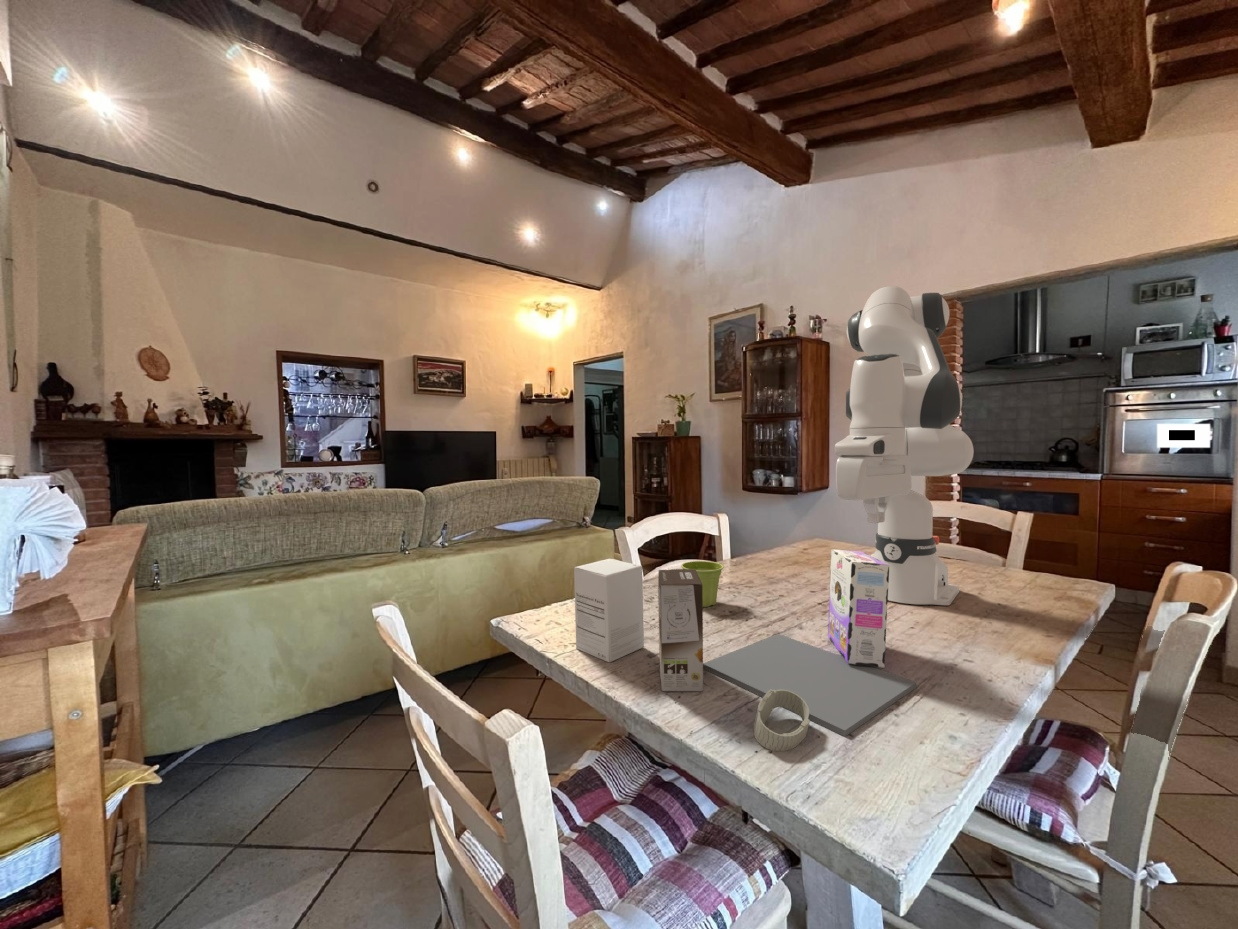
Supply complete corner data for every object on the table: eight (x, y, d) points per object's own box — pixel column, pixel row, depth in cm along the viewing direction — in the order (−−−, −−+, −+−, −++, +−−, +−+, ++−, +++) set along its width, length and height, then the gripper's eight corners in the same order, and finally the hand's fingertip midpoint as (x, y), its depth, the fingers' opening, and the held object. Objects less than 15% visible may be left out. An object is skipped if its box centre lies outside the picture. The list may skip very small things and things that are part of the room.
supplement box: (610, 634, 96) (609, 557, 96) (645, 647, 90) (644, 565, 89) (574, 648, 90) (572, 566, 89) (608, 664, 84) (607, 575, 83)
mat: (777, 638, 93) (777, 633, 93) (916, 687, 74) (916, 682, 74) (702, 668, 81) (702, 663, 81) (844, 736, 62) (844, 730, 62)
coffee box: (704, 692, 74) (704, 584, 73) (661, 692, 74) (659, 584, 73) (697, 664, 83) (696, 568, 82) (658, 664, 83) (657, 568, 82)
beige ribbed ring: (772, 711, 69) (772, 675, 68) (820, 727, 65) (820, 689, 64) (743, 742, 62) (742, 702, 61) (794, 762, 58) (794, 720, 57)
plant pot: (681, 596, 119) (681, 560, 119) (722, 597, 118) (721, 561, 118) (681, 609, 110) (680, 570, 110) (724, 610, 109) (724, 571, 108)
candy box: (886, 669, 78) (891, 564, 78) (846, 665, 79) (851, 561, 79) (860, 639, 92) (864, 550, 92) (826, 636, 93) (830, 547, 93)
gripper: (886, 445, 98) (886, 515, 98) (828, 445, 86) (828, 526, 86) (921, 444, 93) (920, 519, 93) (865, 444, 81) (864, 530, 81)
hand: (876, 522), depth 90 cm, fingers closed
